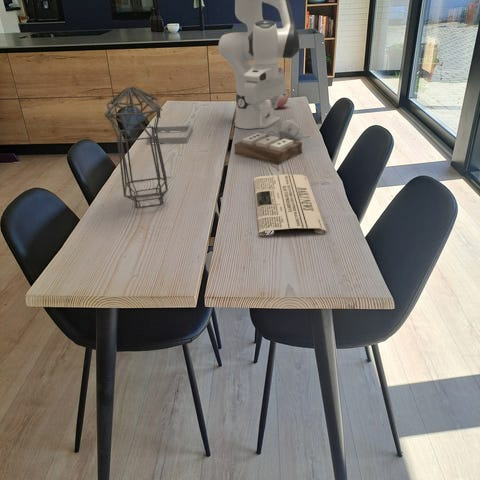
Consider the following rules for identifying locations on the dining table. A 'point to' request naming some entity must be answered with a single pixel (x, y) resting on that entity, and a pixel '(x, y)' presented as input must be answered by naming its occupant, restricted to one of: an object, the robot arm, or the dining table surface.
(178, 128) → the frame
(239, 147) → the button panel
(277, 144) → the button two
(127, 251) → the dining table surface
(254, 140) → the button three
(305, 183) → the newspaper
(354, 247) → the dining table surface
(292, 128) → the grey rock
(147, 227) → the dining table surface
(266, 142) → the button one
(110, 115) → the geometric lantern
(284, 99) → the decorative fruit
